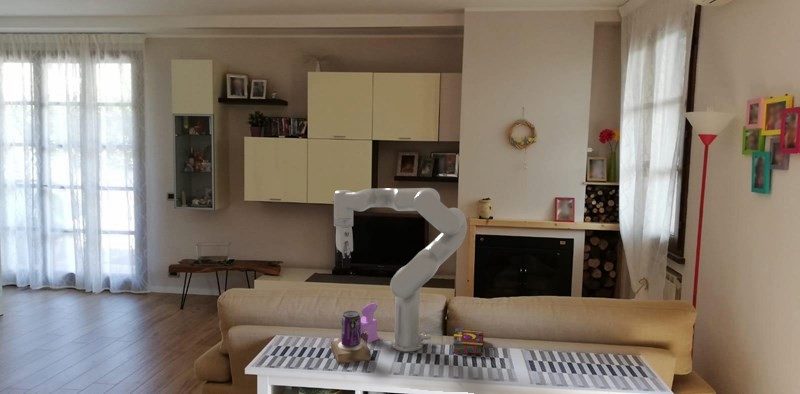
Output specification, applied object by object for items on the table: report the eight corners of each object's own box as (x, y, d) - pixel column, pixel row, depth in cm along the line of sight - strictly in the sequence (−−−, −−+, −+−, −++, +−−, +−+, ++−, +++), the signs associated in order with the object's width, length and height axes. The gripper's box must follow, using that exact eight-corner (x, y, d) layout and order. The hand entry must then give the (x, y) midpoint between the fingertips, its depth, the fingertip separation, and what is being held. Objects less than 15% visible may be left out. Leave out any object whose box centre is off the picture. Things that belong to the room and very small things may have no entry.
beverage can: (357, 349, 196) (357, 317, 195) (338, 347, 198) (338, 316, 196) (362, 341, 203) (363, 311, 202) (344, 339, 205) (344, 309, 203)
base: (361, 346, 209) (361, 336, 208) (370, 359, 197) (370, 349, 197) (331, 350, 205) (331, 340, 204) (338, 363, 194) (338, 353, 193)
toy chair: (366, 331, 223) (366, 296, 221) (381, 337, 217) (381, 302, 215) (351, 337, 218) (351, 301, 215) (365, 343, 212) (366, 306, 209)
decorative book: (483, 341, 217) (483, 329, 216) (482, 358, 201) (483, 345, 200) (454, 338, 219) (455, 326, 218) (452, 355, 203) (452, 342, 202)
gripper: (358, 225, 203) (358, 269, 205) (347, 217, 219) (347, 258, 221) (339, 226, 200) (338, 271, 203) (329, 218, 217) (329, 259, 219)
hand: (343, 264), depth 212 cm, fingers open, 9 cm apart
